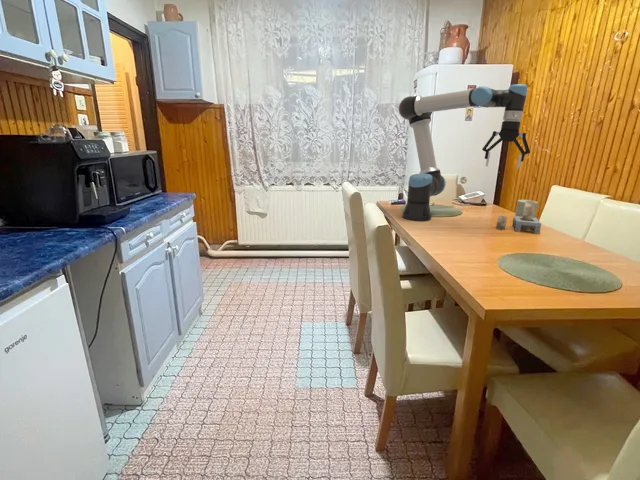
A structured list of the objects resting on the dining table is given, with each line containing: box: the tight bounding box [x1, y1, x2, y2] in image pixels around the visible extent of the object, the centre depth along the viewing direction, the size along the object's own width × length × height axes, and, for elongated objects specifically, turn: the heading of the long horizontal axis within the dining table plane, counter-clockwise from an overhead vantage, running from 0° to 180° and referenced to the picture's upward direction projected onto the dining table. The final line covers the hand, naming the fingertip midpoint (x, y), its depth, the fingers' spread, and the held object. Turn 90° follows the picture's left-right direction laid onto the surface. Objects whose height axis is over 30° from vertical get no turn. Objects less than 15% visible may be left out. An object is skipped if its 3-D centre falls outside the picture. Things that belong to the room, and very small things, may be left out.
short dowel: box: [495, 215, 508, 231], centre depth 170 cm, size 4×4×6 cm
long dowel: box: [520, 199, 536, 232], centre depth 167 cm, size 4×4×14 cm
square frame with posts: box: [511, 215, 542, 235], centre depth 169 cm, size 10×12×5 cm
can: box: [514, 199, 538, 218], centre depth 181 cm, size 9×9×12 cm
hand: (501, 167), depth 167 cm, fingers open, 13 cm apart
